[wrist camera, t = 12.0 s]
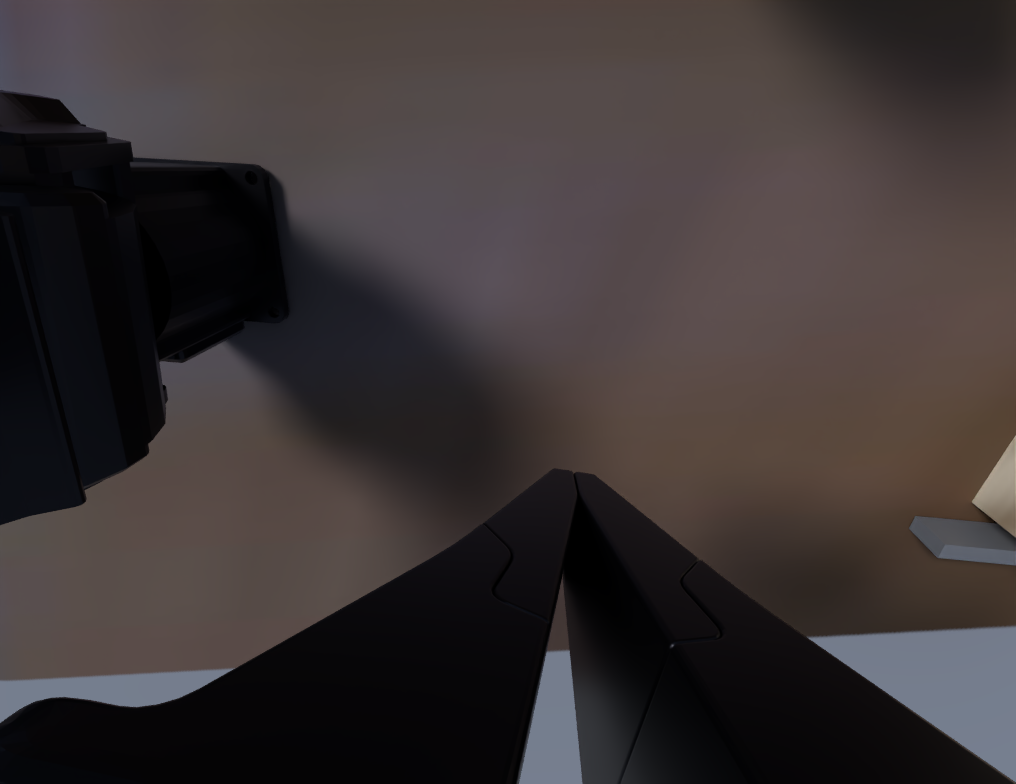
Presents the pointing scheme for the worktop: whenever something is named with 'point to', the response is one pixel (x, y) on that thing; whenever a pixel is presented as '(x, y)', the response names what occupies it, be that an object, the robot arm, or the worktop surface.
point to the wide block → (1001, 491)
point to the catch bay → (966, 540)
